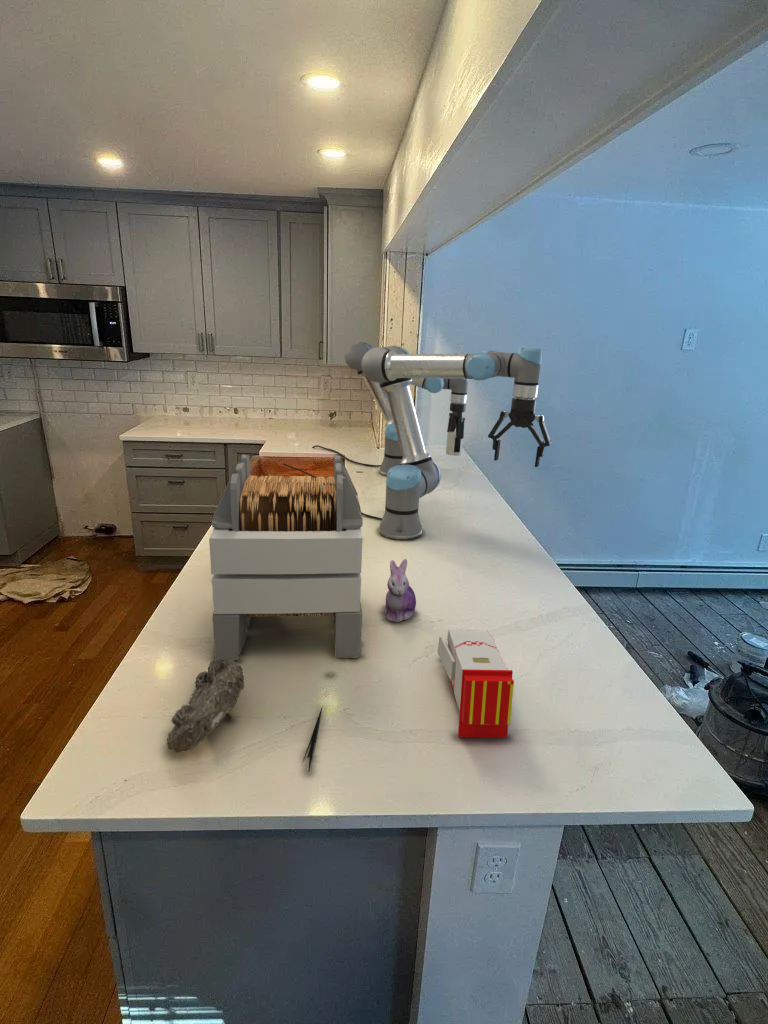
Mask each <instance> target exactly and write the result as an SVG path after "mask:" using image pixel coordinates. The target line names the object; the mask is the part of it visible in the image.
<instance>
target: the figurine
mask: <svg viewBox="0 0 768 1024" xmlns="http://www.w3.org/2000/svg"><path fill="white" fill-rule="evenodd" d="M407 567H408V559H406V558H404V559H403V560H402V561H401V563H400V565H399V566H398V565H397V563H396V562H395V561H394V560H393V559H391V560H390V561H389V570H390V576H389V578H388V579H387V589H388V591H387V592H386V594H385V595H386V596H385V607H384V615H385V616H386V620H387V621H391V622H395V623H400V622H402V621H406V620H409V619H410V618H411V617H413V616H414V615H415V610H416V606H417V597H416V593H415V591H414V590H413V587H411V586H410V582H409V579H408V577H407V574H406V571H407Z"/></svg>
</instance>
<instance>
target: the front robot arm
mask: <svg viewBox="0 0 768 1024" xmlns="http://www.w3.org/2000/svg"><path fill="white" fill-rule="evenodd" d="M542 359H543V350H542V349H541V348H540V347H530V346H528V347H527V346H520V347H518V349H517V351H516V352H506V351H505V352H504V351H496V350H483V351H481V353H410V352H409V351H408V350H407V349H405V348H404V347H401V346H397V345H390V346H389V345H388V346H378V347H373V349H371V350H369V351H368V352H367V353H366V354H365V355H364V357H363V359H362V371H363V373H364V375H365V376H366V377H367V378H368V379H369V380H371V381H373V382H379V384H380V388H381V390H383V391H384V392H386V394H387V398H388V402H389V406H390V410H391V414H392V417H393V421H394V425H395V429H396V433H397V437H398V441H399V444H400V448H401V452H402V456H403V459H402V460H401V462H400V466H399V465H397V466H394V467H392V468H391V469H389V471H388V473H387V476H386V479H385V504H384V505H385V507H384V508H385V509H384V513H383V515H382V517H378V516H375V515H370V514H366V513H365V512H362V511H361V514H362V516H364V517H367V518H370V519H375V520H379V521H381V522H379V526H378V533H379V534H380V535H381V536H382V537H385V538H387V539H389V540H395V541H410V540H415V539H418V538H420V537H421V536H422V535H423V525H422V524H421V518H420V515H419V507H420V506H419V505H420V504H419V503H420V499H421V498H423V497H424V496H426V495H428V494H430V493H432V492H433V491H435V489H436V488H437V487H438V486H440V485H439V484H440V482H441V479H442V472H441V469H440V467H439V466H438V464H437V463H435V462H434V461H433V458H432V454H430V453H429V452H427V450H426V447H425V444H424V439H423V436H422V435H423V434H422V431H421V427H420V424H419V419H418V416H417V411H416V408H415V404H414V399H413V397H412V392H411V387H410V386H411V382H412V378H445V379H469V380H474V381H485V380H488V379H492V378H496V377H502V378H514V381H513V387H512V388H513V389H512V396H513V398H511V405H510V411H506V410H505V409H504V410H502V411H500V413H499V417H498V419H497V420H496V422H495V424H494V425H493V427H492V429H491V430H490V431H489V433H488V434H487V438H488V439H491V440H492V450H493V451H494V457H493V461H498V460H499V459H500V450H501V449H500V448H501V442H502V441H501V439H500V438H501V437H502V436H503V435H504V434H506V432H508V430H510V429H511V428H512V427H513V426H514V427H515V428H522V429H526V428H527V429H528V430H529V432H530V433H531V435H532V436H533V438H534V439H535V441H536V442H537V444H538V446H537V448H536V455H535V462H534V468H538V467H539V466H540V461H541V458H543V457H544V454H545V448H546V447H550V445H552V440H551V437H550V435H549V431H548V428H547V426H546V422H545V415H544V414H541V415H536V406H537V400H536V398H538V392H539V391H538V390H539V381H540V376H541V375H540V374H541V367H542V365H543V364H542V363H543V362H542ZM506 418H509V420H510V421H509V422H508V423H507V424H506V426H504V427H503V428H502V429H501V430H500V431H499V432H498V433H497V431H498V430H499V428H500V427H501V425H502V423H503V422H504V420H505V419H506ZM534 421H536V422H537V423H538V424H539V429H540V433H541V434H540V433H539V431H538V429H537V428H536V426H535V424H534V423H533V422H534ZM496 433H497V434H496ZM541 435H542V436H541ZM282 466H286V467H288V468H290V469H293V470H295V471H298V472H301V473H303V474H305V475H308V476H311V478H312V477H313V478H314V477H315V479H316V477H317V476H316V475H313V474H312V473H309V472H307V471H305V470H302V469H299V468H297V467H295V466H292V465H289V464H286V463H284V462H283V463H282Z"/></svg>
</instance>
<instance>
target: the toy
mask: <svg viewBox="0 0 768 1024" xmlns="http://www.w3.org/2000/svg"><path fill="white" fill-rule="evenodd" d="M446 640H447V643H446V641H445V639H444V636H443V635H442V634H439V637H438V646H437V656H438V657H439V659H440V661H441V663H442V666H443V668H444V670H445V672H446V674H447V677H448V679H449V681H450V684H451V687H452V690H453V693H454V697H455V701H456V705H457V708H458V711H459V714H458V715H459V716H458V730H457V731H458V732H457V737H458V738H508V731H509V726H510V725H511V717H512V707H513V697H514V696H513V695H514V684H515V680H514V679H513V673H514V671H513V670H512V669H508V667H507V665H506V662H505V661H504V659H503V658H502V655H501V653H500V651H499V649H498V647H497V643H496V639H495V637H494V635H493V634H491V632H490V631H489V629H467V628H466V629H465V628H463V629H461V628H460V629H459V628H448V630H447V639H446Z"/></svg>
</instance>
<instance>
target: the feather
mask: <svg viewBox="0 0 768 1024" xmlns="http://www.w3.org/2000/svg"><path fill="white" fill-rule="evenodd" d="M329 675H330V676H331V675H332V674H331V673H330V674H329ZM322 710H323V707H321V708H320V710H319V713H318V716H317V719H316V723H315V725H314V728H313V731H312V733H311V737H310V739H309V742H308V745H307V748H306V751H305V754H304V757H303V760H302V763H301V767H302V765H303V763H304V761H305V758H308V759H309V760H308V762H307V763H308V764H307V766H308V771H310V770H311V766H312V765H311V764H312V760H313V757H315V756H314V755H315V751H316V749H315V746H317V739H318V733H319V729H320V722H321V717H322V712H323V711H322ZM313 754H314V755H313ZM306 755H307V757H306Z"/></svg>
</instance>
